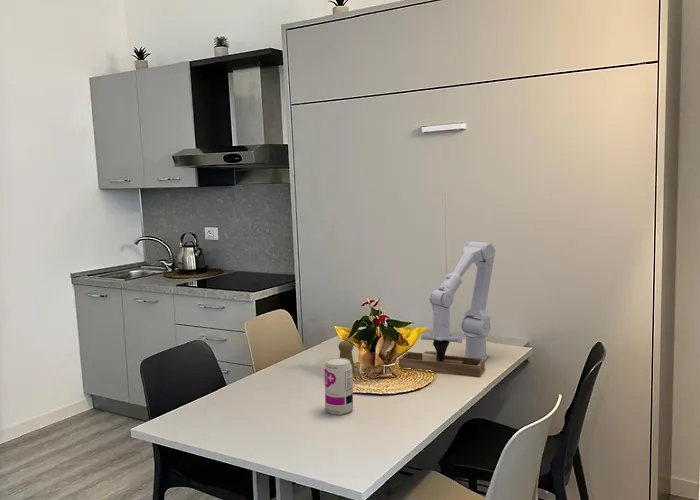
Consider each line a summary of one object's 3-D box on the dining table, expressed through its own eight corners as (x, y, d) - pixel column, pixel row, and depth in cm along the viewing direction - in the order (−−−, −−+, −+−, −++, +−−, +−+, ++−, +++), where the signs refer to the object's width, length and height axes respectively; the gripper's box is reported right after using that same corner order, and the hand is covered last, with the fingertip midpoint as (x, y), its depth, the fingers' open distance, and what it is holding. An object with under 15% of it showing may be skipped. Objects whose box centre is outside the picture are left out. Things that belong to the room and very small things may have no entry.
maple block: (426, 358, 227) (426, 350, 226) (439, 359, 225) (439, 351, 224) (422, 362, 222) (422, 354, 222) (436, 363, 220) (436, 355, 220)
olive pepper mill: (355, 369, 224) (355, 339, 223) (354, 374, 218) (353, 344, 217) (338, 368, 224) (338, 339, 223) (336, 374, 219) (336, 343, 217)
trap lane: (406, 361, 232) (406, 351, 232) (484, 369, 221) (484, 359, 221) (398, 368, 223) (398, 358, 223) (479, 377, 212) (479, 366, 212)
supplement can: (333, 417, 180) (331, 367, 178) (321, 408, 187) (319, 360, 185) (357, 412, 184) (356, 362, 182) (345, 403, 191) (344, 355, 189)
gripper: (418, 324, 219) (418, 361, 221) (459, 327, 214) (459, 366, 215) (423, 320, 226) (424, 356, 227) (463, 323, 220) (463, 360, 222)
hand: (441, 360), depth 222 cm, fingers closed
